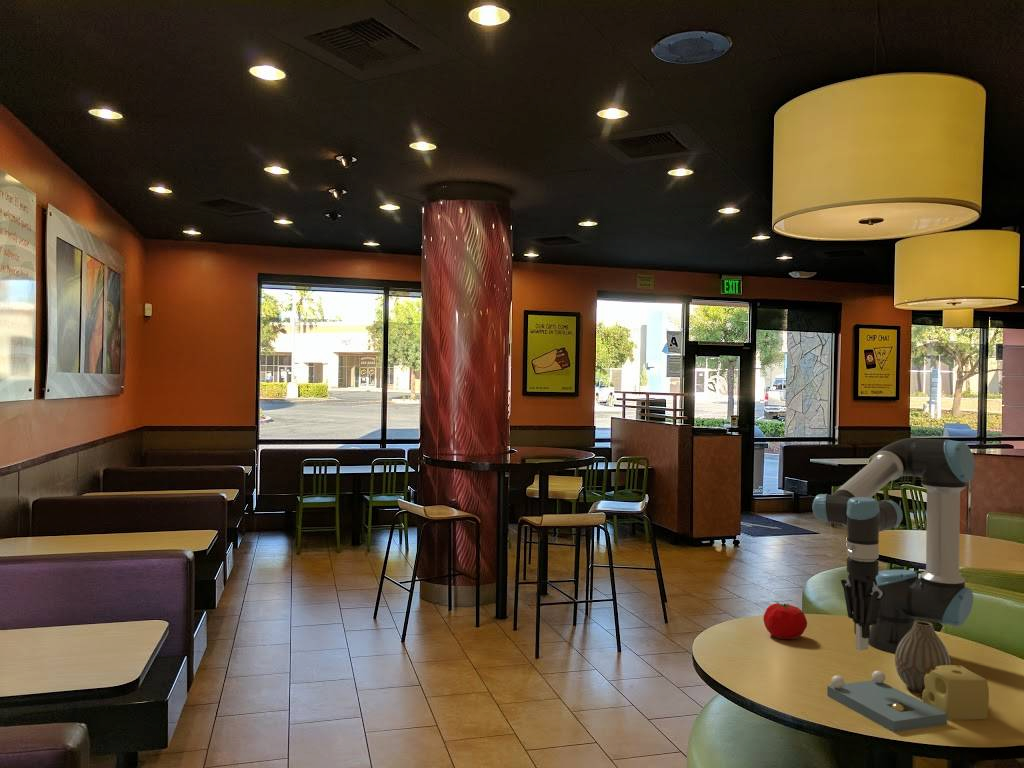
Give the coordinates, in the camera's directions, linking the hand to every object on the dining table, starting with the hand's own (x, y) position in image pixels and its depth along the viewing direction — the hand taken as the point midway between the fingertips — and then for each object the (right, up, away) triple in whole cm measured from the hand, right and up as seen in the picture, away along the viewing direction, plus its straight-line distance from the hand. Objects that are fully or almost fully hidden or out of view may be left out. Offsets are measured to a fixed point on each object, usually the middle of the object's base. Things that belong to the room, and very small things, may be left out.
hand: (861, 648), depth 204 cm
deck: (+2, -12, -9) cm, 15 cm away
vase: (+18, -13, +5) cm, 23 cm away
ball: (+3, -11, -13) cm, 17 cm away
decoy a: (+5, -8, +2) cm, 10 cm away
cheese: (+19, -13, -9) cm, 25 cm away
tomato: (-4, -12, +46) cm, 48 cm away
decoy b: (-7, -8, -2) cm, 11 cm away
